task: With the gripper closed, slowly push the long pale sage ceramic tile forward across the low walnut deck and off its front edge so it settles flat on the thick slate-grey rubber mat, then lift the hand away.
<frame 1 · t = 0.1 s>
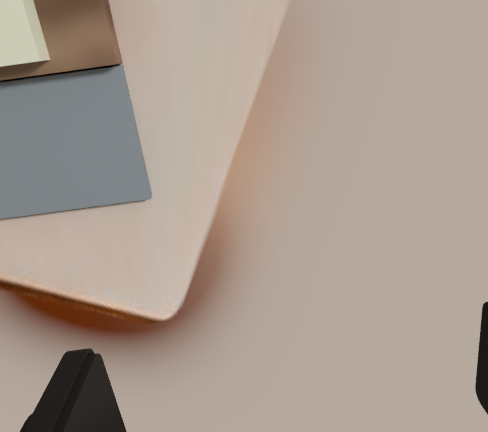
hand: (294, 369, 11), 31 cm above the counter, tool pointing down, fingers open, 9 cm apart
walnut deck: (9, 5, 35), on the counter
slate mat: (52, 145, 39), on the counter
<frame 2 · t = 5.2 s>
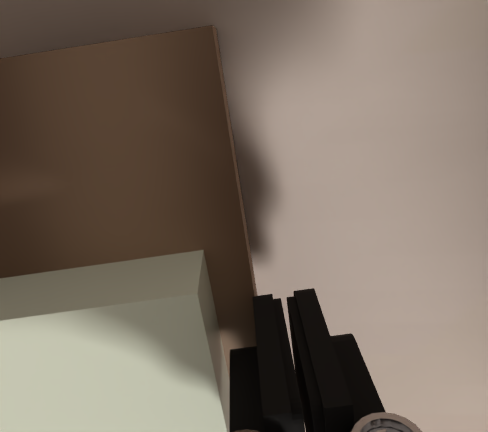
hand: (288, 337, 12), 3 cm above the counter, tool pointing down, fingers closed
walnut deck: (92, 314, 14), on the counter
sage tile: (62, 367, 12), point 2 cm above the counter, touching gripper, walnut deck
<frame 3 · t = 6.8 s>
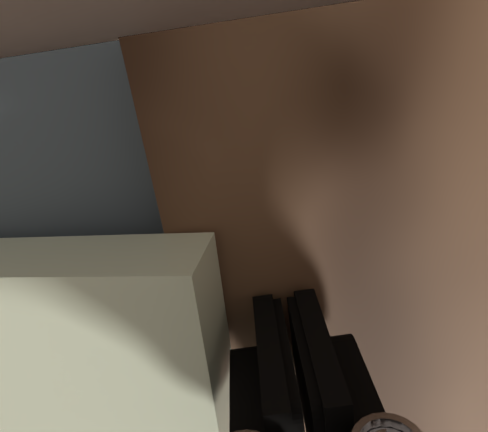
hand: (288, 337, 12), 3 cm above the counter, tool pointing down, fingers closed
walnut deck: (364, 275, 14), on the counter
slate mat: (13, 323, 14), on the counter
sage tile: (74, 331, 12), point 2 cm above the counter, tilted 11°, touching gripper
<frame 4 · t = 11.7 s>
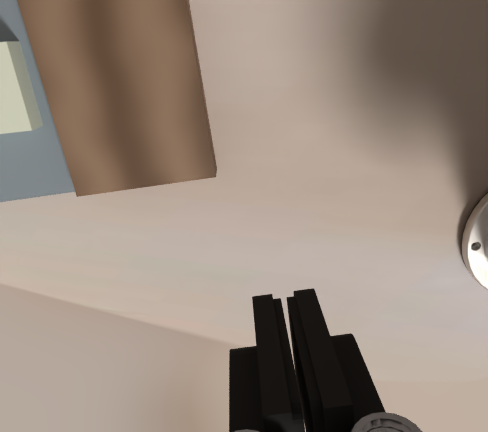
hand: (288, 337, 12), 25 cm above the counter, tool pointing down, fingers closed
walnut deck: (128, 77, 33), on the counter
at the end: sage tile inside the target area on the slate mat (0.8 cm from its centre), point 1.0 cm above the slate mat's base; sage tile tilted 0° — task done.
